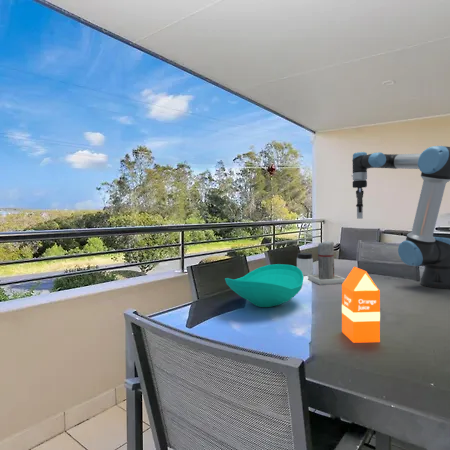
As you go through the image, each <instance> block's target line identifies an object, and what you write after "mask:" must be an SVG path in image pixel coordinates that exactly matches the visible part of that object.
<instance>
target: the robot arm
mask: <svg viewBox="0 0 450 450" xmlns="http://www.w3.org/2000/svg"><path fill="white" fill-rule="evenodd" d="M351 161H352V174H351V178H352V188H353V189H356V191H355V195H356V196H355V197H356V205H355V207H356V219H358V220H359V219H360V220H362V219H364V218H363V217H364V215H363V212H364V208H363V207H364V203H363V201H364V199H363V198H364V194H365V193H364V190H363V188H367V186H368V181H367V180H368V169H392V170H393V169H394V170H396V169H400V170H401V169H408V170H409V169H411V170H413V169H414V170H419V171H420V172H421V174H420V177H421V179H422V180H423V182H422V185H421V190H420V194H419V199H418V203H417V208H416V211H415V216H414V220H413V224H412V228H411V232H408V233H407V234H406V237H405V240H403V241H402V242H400V243H399V244H398V247H397V248H398V249H397V253H398V256H399V258H400V260H401V261H402V262H403V264H406V265H407V266H411V267H419V266H424V270H423V272H422V275H421V277H420V281H419V282H420V285H421V286H425V287H429V288H435V289H450V237H440V236H434V232H435V228H436V224H437V220H438V216H439V212H440V208H441V205H442V201H443V197H444V192H445V188H446V185H447V183H448V182H450V146H446V145H433V146H430V147H429V146H428V147H427V148H426V149H424V150H423V151H422V152H421V153H401V154H400V153H399V154H397V153H396V154H395V153H393V154H392V153H391V154H389V153H388V154H387V153H383V152H382V151H381V152H380V151H379V152H373V153H367V152H365V151H360V152H355V153H353V154H352V160H351Z"/></svg>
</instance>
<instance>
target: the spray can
mask: <svg viewBox="0 0 450 450" xmlns="http://www.w3.org/2000/svg"><path fill="white" fill-rule="evenodd" d="M334 247H335V245H334V241H330V240H326V241H323V242H321V243H320V242H319V243H318V245H317V261H318V275H319V279H320V280H325V279H334V274H335V248H334Z"/></svg>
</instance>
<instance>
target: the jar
mask: <svg viewBox="0 0 450 450" xmlns="http://www.w3.org/2000/svg"><path fill="white" fill-rule="evenodd" d="M296 256H297V257H296V267H298V268H299V269H300V270H301V271H302V273H303V276H304V277H308V275H314V259H313V253H311V252H298V253H297V255H296Z"/></svg>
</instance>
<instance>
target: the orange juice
mask: <svg viewBox="0 0 450 450" xmlns="http://www.w3.org/2000/svg"><path fill="white" fill-rule="evenodd" d="M380 298H381V291H380V289H379V288H378V287H377V284H375V282H374V281H373V279H372V278H371V277H370V275H369V273H368V272H367V271H366V270H364V269H361V268H359V267H357V266H353V267H352V269H351V270H350V272H349V273H348V275H347V277H346V278H345V281H344V282H343V284H341V332H342V334H343V335H345V336H346V338H348V339H349V340H350V341H351V342H352V343H354V344H355V343H380V342H381V337H380V336H381V331H380V330H381V299H380Z"/></svg>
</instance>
